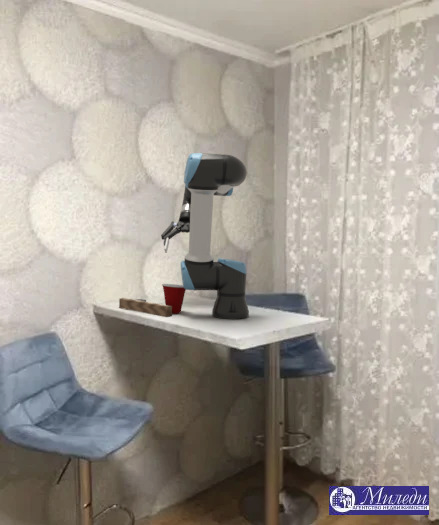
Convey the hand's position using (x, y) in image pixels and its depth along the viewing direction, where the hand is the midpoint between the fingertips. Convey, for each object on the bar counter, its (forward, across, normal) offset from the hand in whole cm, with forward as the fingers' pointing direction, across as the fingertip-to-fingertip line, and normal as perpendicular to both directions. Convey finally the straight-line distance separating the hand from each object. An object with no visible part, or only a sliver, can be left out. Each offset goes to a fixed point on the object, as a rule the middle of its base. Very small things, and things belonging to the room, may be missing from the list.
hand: (180, 251), depth 209 cm
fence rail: (+26, +9, -8) cm, 29 cm away
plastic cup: (+27, -1, -7) cm, 28 cm away
